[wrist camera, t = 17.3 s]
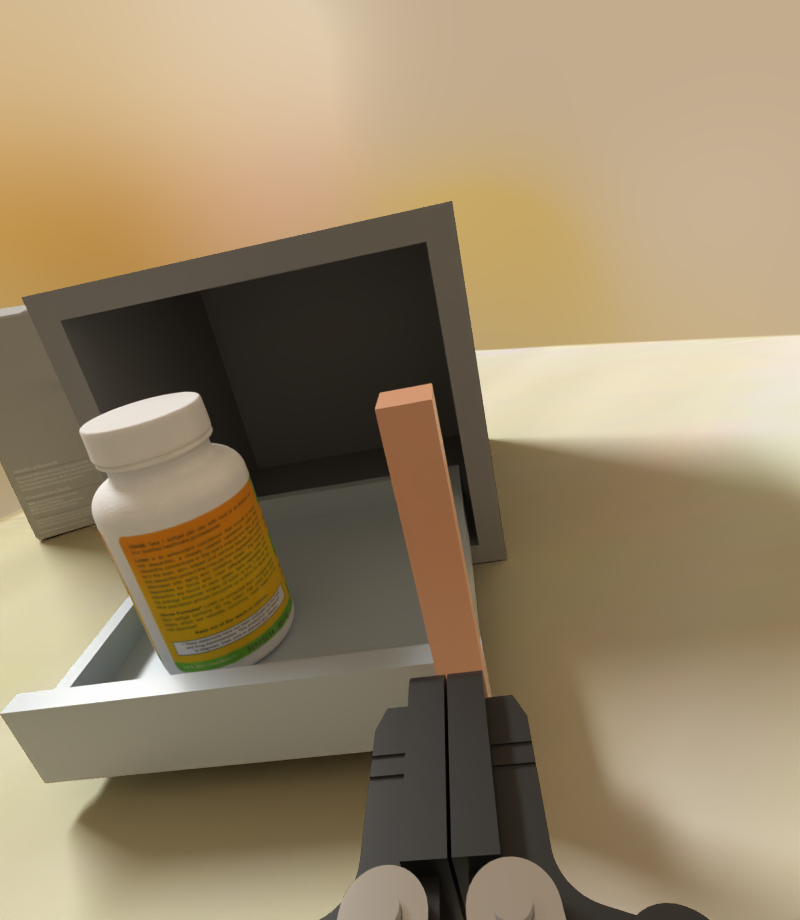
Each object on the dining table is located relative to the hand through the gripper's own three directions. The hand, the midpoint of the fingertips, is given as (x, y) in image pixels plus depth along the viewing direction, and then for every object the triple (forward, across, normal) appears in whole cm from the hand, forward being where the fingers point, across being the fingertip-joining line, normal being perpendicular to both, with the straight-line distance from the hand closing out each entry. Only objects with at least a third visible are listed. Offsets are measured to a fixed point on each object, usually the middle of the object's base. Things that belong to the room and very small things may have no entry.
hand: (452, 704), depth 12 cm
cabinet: (+22, +7, +6) cm, 24 cm away
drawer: (+11, +7, +5) cm, 14 cm away
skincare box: (+29, +29, +7) cm, 42 cm away
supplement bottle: (+9, +10, +5) cm, 14 cm away
